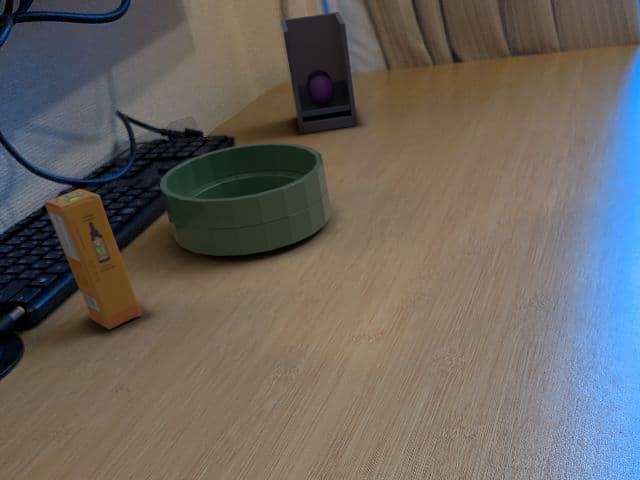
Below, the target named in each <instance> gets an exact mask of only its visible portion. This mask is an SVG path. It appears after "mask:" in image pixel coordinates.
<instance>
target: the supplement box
mask: <svg viewBox="0 0 640 480" xmlns="http://www.w3.org/2000/svg"><path fill="white" fill-rule="evenodd" d="M44 205H45V208H46V211H47V213H48V216H49V219H50V221H51V223H52V226H53V228H54V230H55V233H56V236H57V238H58V241H59V243H60V245H61V247H62V250H63V252H64V255H65V257H66V260H67V262H68V265H69V268H70V270H71V272H72V275H73V277H74V279H75V282H76V284H77V287H78V289H79V292H80V294H81V297H82V299H83V301H84V303H85V305H86V308H87V311H88V313H89V315H90V318H91V320H92V321H93V322H95V323H97V324H98V325H101V326H102V327H103V328H106V329H108V330H112V329H114V328H116V327H118V326H120V325H122V324H123V323H126V322H128V321H130V320H133V319H135V318H138V317H140V316H142V310H141V308H140V306H139V303H138V299H137V297H136V294H135V292H134V288H133V286H132V283H131V280H130V277H129V274H128V271H127V269H126V265H125V263H124V261H123V258H122V255H121V252H120V249H119V247H118V244H117V241H116V238H115V236H114V232H113V230H112V227H111V225H110V222H109V220H108V216H107V214H106V211H105V207H104V205H103V201H102V199H101V196H100V194H97V193H94V192H91V191H88V190H85V189H82V188H78V189H75V190H72V191H70V192H67V193H65V194H62V195H59V196H57V197H54V198H51V199H49V200H46V201H45V202H44Z"/></svg>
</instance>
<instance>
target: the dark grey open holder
mask: <svg viewBox="0 0 640 480" xmlns="http://www.w3.org/2000/svg"><path fill="white" fill-rule="evenodd" d="M279 23H280V27H281V32H282V39H283V46H284V50H285V56H286V57H285V58H286V63H287V69H288V74H289V79H290V80H289V81H290V86H291V93H292V98H293V104H294V110H295V116H296V120H297V125H298V129H299V134H300V135H303V134H310V133H315V132H323V131H329V130H336V129H342V128H349V127H355V126H359V123H358V116H357V108H356V101H355V91H354V83H353V77H352V76H353V75H352V68H351V60H350V51H349V43H348V35H347V28H346V27H347V26H346V22H345V21H344V19H343V18H342V15H341V14H340V12H339V11H335V12H327V13H321V14H315V15H307V16H301V17H293V18H287V19H280V21H279ZM316 76H325V77H327V78H328V79H330V81H331V82H332V84H333V86H334V95H333V98H332V100H331V101H330V102H329V103H327V104H324V105H320V104H317V103H315V102H314V101H313V100H312V99H311V97H310V95H309V84H310V82H311V80H312V79H313V78H315V77H316Z"/></svg>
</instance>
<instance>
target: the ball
mask: <svg viewBox="0 0 640 480" xmlns="http://www.w3.org/2000/svg"><path fill="white" fill-rule="evenodd" d="M309 95H310V97H311V99H312V100H313V101H314V102H315V103H317V104H320V105H324V104H327V103H329V102H330V101H331V100H332V98H333V95H334V86H333V84H332V82H331V81H330V79H328V78H327V77H325V76H316V77H315V78H313V79H312V80H311V82H310V84H309Z"/></svg>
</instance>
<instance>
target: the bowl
mask: <svg viewBox="0 0 640 480" xmlns="http://www.w3.org/2000/svg"><path fill="white" fill-rule="evenodd" d="M159 190H160V194H161V197H162V200H163V204H164V207H165V210H166V213H167V218H168V222H169V224H170V228H171V231H172V235H173V238H174V240H175V241H176V242H177V244H178V245H179V246H180V247H181V248H182V249H185V250H187V251H190V252H192V253H195V254H200V255H206V256H208V255H209V256H215V257H218V256H219V257H221V256H225V257H226V256H245V255H246V256H247V255H253V254H259V253H265V252H270V251H273V250H277V249H281V248H284V247H287V246H290V245H292V244H295V243H297V242H300V241H301V240H304V239H306V238H308V237H310V236H312V235H315V233H316V232H318V231H319V230H320V229H322V228H324V226H326V225H327V223H328V221H329V219H330V218H331V215H332V210H331V204H330V197H329V196H330V195H329V190H328V183H327V176H326V171H325V164H324V160H323V156H322V154H321V153H320V152H319V151H317V150H315V149H314V148H313V147H310V146H305V145H301V144H297V143H287V142H286V143H285V142H263V143H262V142H261V143H249V144H243V145H237V146H231V147H225V148H221V149H217V150H213V151H209V152H205V153H203V154H200V155H197V156H194V157H192V158H189V159H186V160H185V161H183V162H181V163H179V164H178V165H176V166H174V167H172V168H171V169H169V170H168V171H167V172H166V173H165V174H164V175H163V176H162V177H161V178H160V184H159Z"/></svg>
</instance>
